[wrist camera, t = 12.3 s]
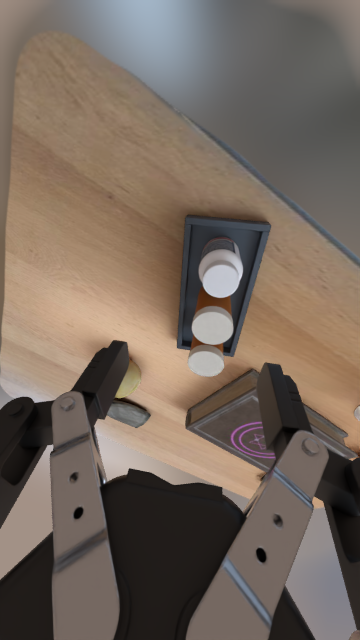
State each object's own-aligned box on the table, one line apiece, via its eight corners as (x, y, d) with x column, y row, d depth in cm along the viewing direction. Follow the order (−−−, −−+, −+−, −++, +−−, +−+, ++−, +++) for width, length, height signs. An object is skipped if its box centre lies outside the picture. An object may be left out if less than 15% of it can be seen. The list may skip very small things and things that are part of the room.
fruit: (129, 379, 51) (116, 409, 44) (105, 356, 47) (87, 385, 41) (153, 370, 47) (142, 401, 41) (130, 345, 44) (114, 375, 38)
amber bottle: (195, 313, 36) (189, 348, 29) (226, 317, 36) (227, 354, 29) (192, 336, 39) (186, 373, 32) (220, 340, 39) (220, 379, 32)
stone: (153, 411, 57) (150, 422, 55) (137, 423, 62) (134, 434, 60) (110, 388, 54) (105, 399, 52) (98, 403, 59) (92, 414, 57)
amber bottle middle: (199, 278, 33) (193, 309, 25) (233, 282, 32) (237, 315, 25) (196, 307, 36) (190, 341, 28) (227, 311, 35) (228, 347, 28)
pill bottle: (194, 252, 30) (186, 277, 23) (225, 227, 28) (226, 247, 21) (216, 279, 32) (214, 310, 25) (246, 259, 30) (254, 286, 23)
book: (347, 433, 49) (358, 456, 45) (270, 457, 61) (273, 477, 57) (252, 368, 42) (255, 389, 38) (186, 410, 54) (184, 429, 50)
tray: (187, 214, 28) (185, 217, 27) (268, 222, 27) (271, 225, 26) (178, 341, 41) (176, 348, 40) (233, 349, 40) (233, 357, 39)
